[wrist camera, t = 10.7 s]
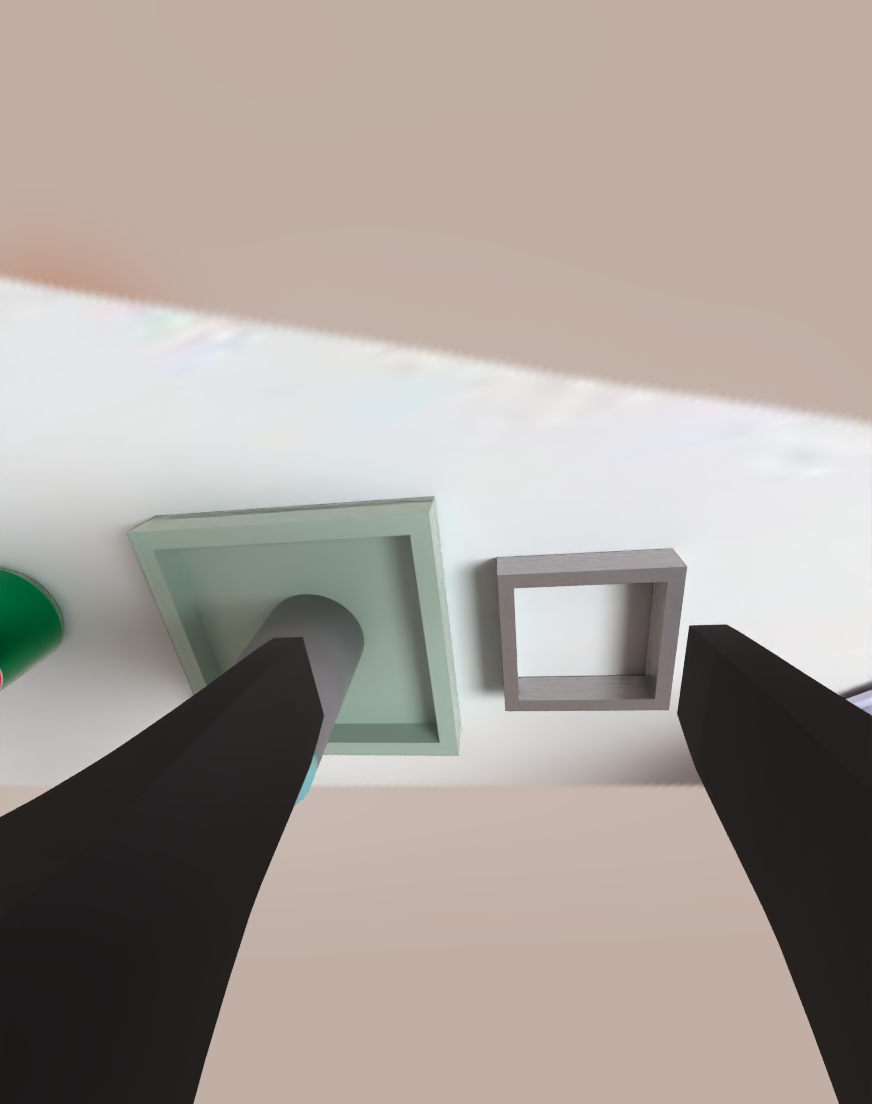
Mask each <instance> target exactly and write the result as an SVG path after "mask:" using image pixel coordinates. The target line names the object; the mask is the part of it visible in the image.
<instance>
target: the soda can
mask: <svg viewBox="0 0 872 1104" xmlns="http://www.w3.org/2000/svg"><path fill="white" fill-rule="evenodd" d="M62 632H63V619H62V615H61V612H60V609H59V607H58V605H57V603H56V602H55V600H54V599H53V598H52V596H51V595H50V594H49V593H48V592H47V591H46V590H45V589H44V588H43V587H42V586H40V585H39V584H38V583H36V582H35V581H33V580H32V579H30V578H28V577H26V576H24V575H22V574H19V573H17V572H13V571H9V570H5V569H0V691H2V690H3V689H4V688H6V687H7V686H8V685H10V684H11V683H12V682H13V681H15V680H16V679H17V678H19V677H20V676H21V675H23V674H24V673H25V672H27V671H28V670H29V669H31V668H32V667H33V666H35V665H36V664H37V663H39V662H40V661H41V660H43V659H44V658H45V657H47V656H48V655H49V654H51V653H52V652H53V651H54V650H55V649H56V648H57V647H58V646H59V644H60V642H61V638H62Z"/></svg>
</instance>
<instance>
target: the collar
mask: <svg viewBox="0 0 872 1104" xmlns="http://www.w3.org/2000/svg"><path fill="white" fill-rule="evenodd" d="M686 570H687V566H686V565H685V563H684V562H683V561H682V560H681V558H680V557H679V556H678V554H677V553H676V552H675V551H674V549H658V550H638V551H619V552H599V553H579V554H560V555H540V556H520V557H500V558H497V582H498V598H499V614H500V630H501V647H502V663H503V679H504V695H505V711H608V710H669V705H670V697H671V689H672V681H673V673H674V665H675V657H676V649H677V641H678V634H679V626H680V618H681V610H682V602H683V594H684V586H685V578H686ZM651 582H654V583H653V594H652V604H651V615H650V625H649V636H648V646H647V657H646V667H645V675H639V676H576V677H518V672H517V650H516V628H515V606H514V588H531V587H555V586H579V585H603V584H627V583H651Z"/></svg>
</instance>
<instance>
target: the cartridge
mask: <svg viewBox="0 0 872 1104" xmlns="http://www.w3.org/2000/svg"><path fill="white" fill-rule="evenodd" d="M284 637H303V639H304V643H305V647H306V651H307V654H308V658H309V662H310V665H311V669H312V673H313V676H314V680H315V684H316V687H317V691H318V695H319V698H320V702H321V706H322V709H323V713H324V718H323V722H322V726H321V730H320V734H319V738H318V742H317V745H316V749H315V752H314V756H313V759H312V762H311V765H310V768H309V771H308V773H307V776H306V778H305V781H304V783H303V785H302V788H301V790H300V793H299V795H298V798H297V800H296V802H295V805H296V804H297V803H299V802H300V801H301V800H302V799H303V798H304V797H305V796H306V794H307V793H308V791H309V789H310V786H311V784H312V781H313V779H314V776H315V773H316V771H317V768H318V766H319V763H320V761H321V758H322V755H323V753H324V750H325V748H326V745H327V743H328V740H329V737H330V735H331V732H332V730H333V727H334V725H335V722H336V719H337V717H338V714H339V712H340V709H341V706H342V704H343V701H344V699H345V696H346V694H347V691H348V688H349V686H350V683H351V681H352V678H353V676H354V673H355V670H356V668H357V665H358V663H359V660H360V658H361V655H362V652H363V649H364V635H363V632H362V629H361V626H360V624H359V622H358V621H357V619H356V618H355V617H354V615H353V614H352V613H351V612H350V611H349V610H348V609H346V608H345V607H344V606H343V605H341V604H339V603H338V602H336V601H334V600H332V599H330V598H327V597H324V596H320V595H313V594H302V595H296V596H292V597H290V598H287V599H285V600H284V601H282V602H281V603H280V604H278V605H277V606H276V608H275V609H274V610H273V611H272V613H271V614H270V615H269V617H268V618H267V619H266V621H265V622H264V623H263V625H262V626H261V627H260V629H259V630H258V631H257V633H256V634H255V635H254V637H253V638H252V639H251V641H250V642H249V643H248V645H247V646H246V647H245V649H244V650H243V651H242V653H241V654H240V655H239V657H238V658H237V659H236V661H235V662H234V663H233V665H232V666H231V667H233V666H234V665H235V664H237V663H238V662H239V661H241V660H242V659H244V658H245V657H246V656H248V655H249V654H250V653H252V652H253V651H255V650H256V649H258V648H259V647H260V646H262V645H263V644H265V643H267V642H268V641H270V640H271V639H273V638H284ZM231 667H230V668H231Z"/></svg>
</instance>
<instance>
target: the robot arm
mask: <svg viewBox="0 0 872 1104" xmlns="http://www.w3.org/2000/svg"><path fill="white" fill-rule="evenodd" d="M677 714H678V718H679V721H680V724H681V727H682V730H683V733H684V736H685V739H686V742H687V745H688V748H689V751H690V754H691V756H692V759H693V762H694V765H695V768H696V770H697V772H698V774H699V776H700V779H701V781H702V783H703V785H704V787H705V789H706V791H707V793H708V795H709V797H710V800H711V802H712V804H713V806H714V808H715V810H716V812H717V814H718V816H719V818H720V820H721V822H722V824H723V826H724V829H725V831H726V833H727V835H728V837H729V839H730V841H731V843H732V845H733V847H734V849H735V851H736V853H737V855H738V857H739V859H740V862H741V863H742V866H743V868H744V870H745V872H746V874H747V876H748V878H749V880H750V882H751V884H752V886H753V888H754V890H755V892H756V894H757V896H758V898H759V901H760V903H761V905H762V906H763V909H764V911H765V913H766V916H767V918H768V920H769V922H770V925H771V927H772V929H773V931H774V934H775V936H776V938H777V941H778V943H779V945H780V948H781V950H782V953H783V955H784V958H785V961H786V963H787V966H788V969H789V971H790V974H791V976H792V979H793V981H794V984H795V987H796V989H797V992H798V994H799V997H800V1000H801V1002H802V1005H803V1007H804V1010H805V1013H806V1015H807V1018H808V1020H809V1023H810V1026H811V1028H812V1031H813V1034H814V1036H815V1039H816V1042H817V1045H818V1047H819V1050H820V1053H821V1055H822V1058H823V1061H824V1064H825V1067H826V1069H827V1072H828V1075H829V1077H830V1080H831V1083H832V1085H833V1088H834V1091H835V1094H836V1096H837V1099H838V1102H839V1104H872V690H869V691H866V692H864V693H861V694H858V695H855V696H853V697H850V698H847V699H844V698H843V697H841V696H839V695H838V694H836V693H835V692H833V691H832V690H830V689H828V688H827V687H825V686H824V685H822V684H820V683H819V682H817V681H816V680H814V679H812V678H811V677H809V676H808V675H806V674H805V673H803V672H802V671H800V670H798V669H797V668H795V667H794V666H792V665H791V664H789V663H788V662H786V661H784V660H783V659H781V658H780V657H778V656H777V655H775V654H774V653H772V652H770V651H769V650H767V649H766V648H764V647H763V646H761V645H760V644H758V643H756V642H755V641H753V640H752V639H750V638H748V637H747V636H745V635H744V634H742V633H740V632H739V631H737V630H735V629H734V628H732V627H730V626H728V625H693V626H689V632H688V639H687V646H686V654H685V661H684V668H683V676H682V683H681V690H680V698H679V705H678V712H677ZM323 718H324V713H323V709H322V706H321V702H320V698H319V695H318V691H317V687H316V684H315V680H314V676H313V673H312V669H311V665H310V662H309V658H308V654H307V651H306V647H305V643H304V639H303V637H284V638H273V639H271V640H270V641H268V642H267V643H265V644H263V645H262V646H260V647H259V648H258V649H256V650H255V651H253V652H252V653H250V654H249V655H248V656H246V657H245V658H244V659H242V660H241V661H239V662H238V663H237V664H235V665H234V666H233V667H231V668H230V669H229V670H227V671H226V672H225V673H223V674H222V675H221V676H219V677H218V678H217V679H215V680H214V681H212V682H211V683H210V684H208V685H207V686H206V687H204V688H203V689H202V690H200V691H199V692H197V693H196V694H195V695H193V696H192V697H191V698H189V699H188V700H187V701H185V702H184V703H183V704H181V705H180V706H178V707H177V708H175V709H174V710H173V711H171V712H170V713H168V714H167V715H165V716H164V717H162V718H161V719H160V720H158V721H157V722H155V723H154V724H152V725H151V726H149V727H148V728H146V729H145V730H144V731H142V732H141V733H139V734H138V735H136V736H135V737H133V738H132V739H130V740H129V741H128V742H126V743H125V744H123V745H122V746H120V747H119V748H117V749H116V750H114V751H112V752H111V753H109V754H108V755H106V756H105V757H103V758H102V759H100V760H98V761H97V762H95V763H94V764H92V765H90V766H89V767H87V768H86V769H84V770H82V771H81V772H79V773H77V774H76V775H74V776H72V777H70V778H69V779H67V780H65V781H64V782H62V783H60V784H59V785H57V786H55V787H54V788H52V789H50V790H49V791H47V792H45V793H44V794H42V795H40V796H38V797H37V798H35V799H33V800H31V801H30V802H28V803H26V804H24V805H22V806H20V807H18V808H16V809H15V810H13V811H11V812H9V813H7V814H5V815H3V816H1V817H0V1104H193V1103H194V1099H195V1096H196V1092H197V1088H198V1085H199V1081H200V1077H201V1073H202V1070H203V1066H204V1063H205V1059H206V1056H207V1052H208V1049H209V1045H210V1042H211V1039H212V1035H213V1032H214V1028H215V1025H216V1022H217V1018H218V1015H219V1012H220V1008H221V1005H222V1002H223V998H224V995H225V991H226V988H227V985H228V981H229V978H230V975H231V972H232V969H233V966H234V962H235V959H236V956H237V953H238V950H239V947H240V944H241V941H242V937H243V934H244V931H245V928H246V924H247V921H248V919H249V916H250V913H251V910H252V907H253V905H254V902H255V899H256V897H257V894H258V891H259V889H260V886H261V884H262V881H263V879H264V876H265V874H266V871H267V869H268V867H269V864H270V862H271V860H272V857H273V855H274V852H275V850H276V848H277V845H278V843H279V841H280V838H281V836H282V833H283V831H284V829H285V826H286V824H287V822H288V819H289V817H290V814H291V812H292V810H293V807H294V805H295V802H296V800H297V798H298V795H299V793H300V790H301V788H302V785H303V783H304V781H305V778H306V776H307V773H308V771H309V768H310V765H311V762H312V759H313V756H314V752H315V749H316V745H317V742H318V738H319V734H320V730H321V726H322V722H323Z"/></svg>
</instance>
